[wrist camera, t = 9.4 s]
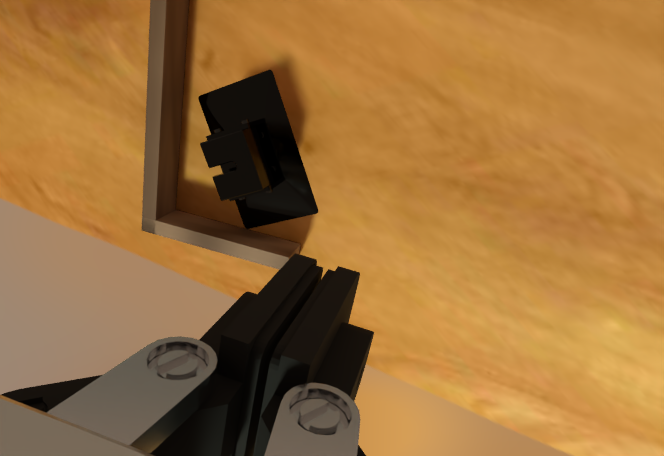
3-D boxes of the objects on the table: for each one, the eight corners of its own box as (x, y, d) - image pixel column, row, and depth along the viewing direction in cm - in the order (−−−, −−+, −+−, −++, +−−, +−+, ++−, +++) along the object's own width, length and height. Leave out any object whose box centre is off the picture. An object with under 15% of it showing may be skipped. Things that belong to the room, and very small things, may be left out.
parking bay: (347, -32, 27) (337, -40, 25) (298, 256, 34) (286, 271, 32) (177, -61, 29) (153, -71, 27) (162, 219, 36) (141, 230, 34)
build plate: (184, 76, 33) (141, 78, 28) (282, 38, 30) (252, 35, 26) (246, 248, 36) (216, 273, 31) (340, 226, 33) (321, 251, 29)
